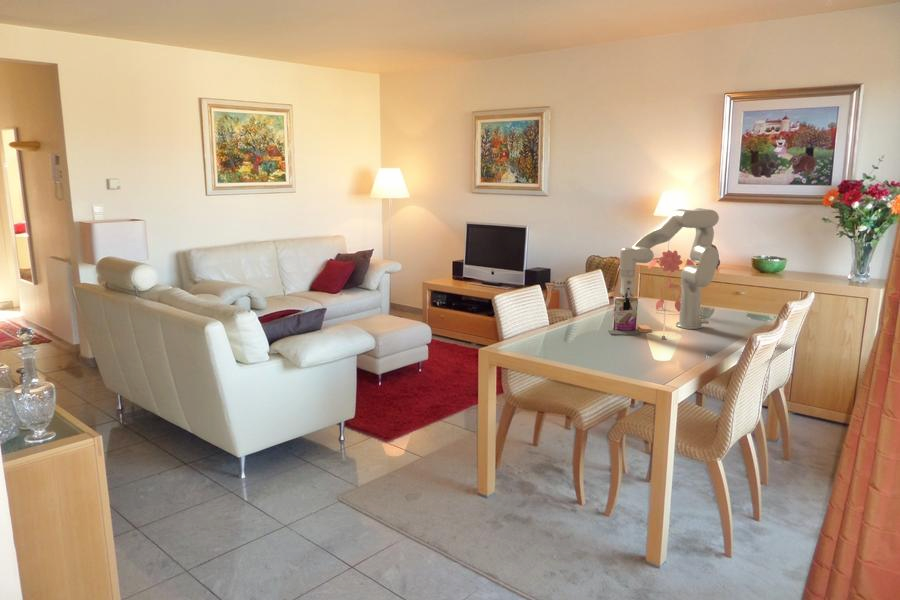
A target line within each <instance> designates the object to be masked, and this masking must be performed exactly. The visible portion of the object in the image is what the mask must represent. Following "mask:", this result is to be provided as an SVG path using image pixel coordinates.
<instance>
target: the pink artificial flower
mask: <svg viewBox="0 0 900 600" xmlns="http://www.w3.org/2000/svg"><path fill="white" fill-rule="evenodd" d="M661 254H662V256H661V257H659V261H658V258H656V259H652V261H650V262H649V265H648V268H647V269H648V270H650V269H651V268H653V267H654V266H655V265H656V264H657V263H658V265H659V267H660V268H661V270H663V272H667V271H670V272H669V273H668V281H669V283H668V285H666V286H663V287H661V289H660V299H658V300H657V302H655V303H656V304H655V309H656V310H658V309H660V308H661V309H663V308H664V307H663V306H664V303H665V300H664V299H663V298H662V292H663V291H662V289H664V288H667V287H668V288H669V289H670V288H674V289H676V290H678V291H679V294H678V298H677V300H676V301H675V302H674V308H675V310H676V311H677V312H678V313H679V314H671V313H670V314H669V313H668V315H670V316H671V315H672V316H680V305H681V300H680V298H681V292H682V290H680V289H679V288H677V287H675V286H674V284H673V283H672V282H671V277H670V274H672V273H674V272H675V271H678V272H682V270H683V269H682V270H681V269H680V266H681V265H682V264H683V260H681V255H679V254H678V250H673V251H671V250H669V249H668V250H667V251H662V253H661ZM688 265H695V262H693V261H692V260H691V259H690V258H687V260H686V263H685V265H684V267H686V266H688ZM651 307H653V306H651ZM655 313H656V314H658V312H657V311H656V312H655ZM660 314H663V313H662V312H660Z"/></svg>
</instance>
